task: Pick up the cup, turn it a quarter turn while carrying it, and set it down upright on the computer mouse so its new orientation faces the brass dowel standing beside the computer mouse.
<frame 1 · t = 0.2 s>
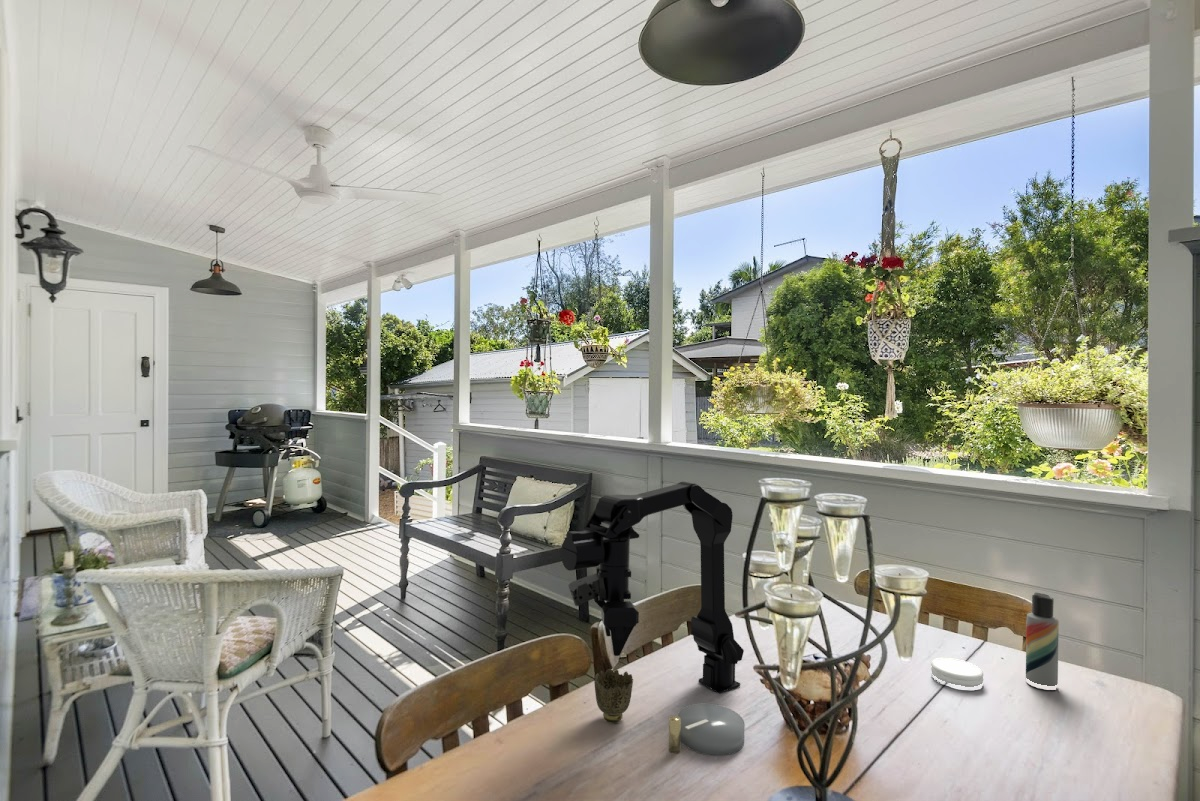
hand: (612, 645, 114), 14 cm above the table, tool pointing down, fingers open, 9 cm apart
coaster: (956, 682, 134), on the table
cup: (612, 720, 114), on the table
computer mouse: (710, 736, 109), on the table
lotion bottle: (1041, 686, 132), on the table
brass dowel: (674, 750, 104), on the table
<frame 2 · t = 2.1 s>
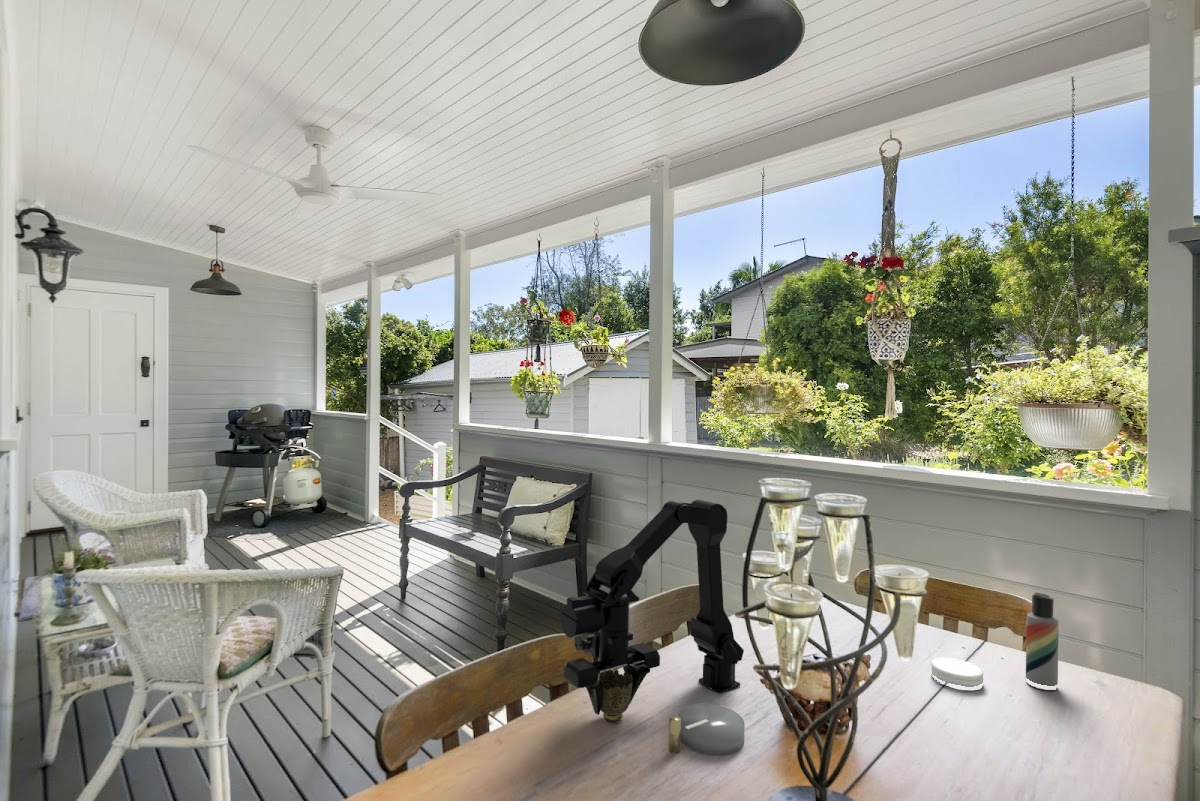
hand: (612, 708, 114), 2 cm above the table, tool pointing down, fingers closed on cup, 7 cm apart
cup: (612, 720, 114), on the table, touching gripper
everything else where it was.
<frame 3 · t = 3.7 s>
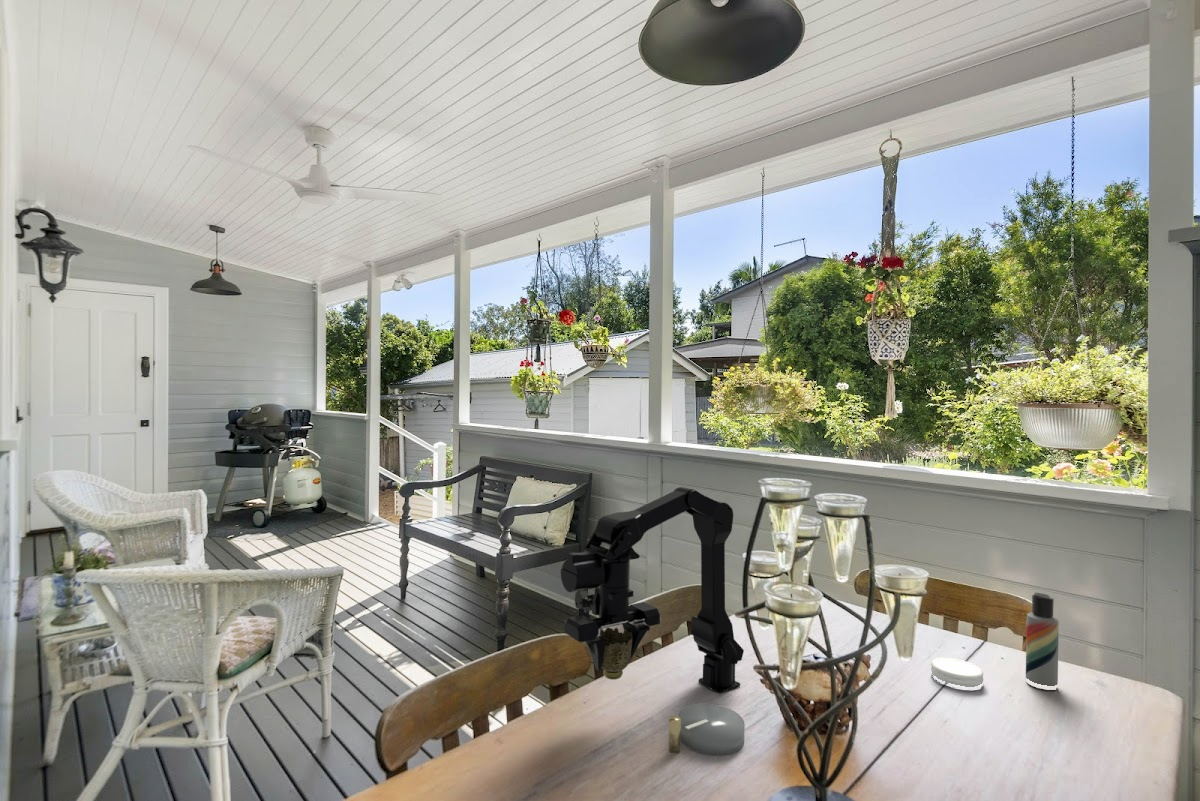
hand: (612, 665, 114), 10 cm above the table, tool pointing down, fingers closed on cup, 6 cm apart
cup: (613, 677, 114), point 8 cm above the table, touching gripper
everything else where it was.
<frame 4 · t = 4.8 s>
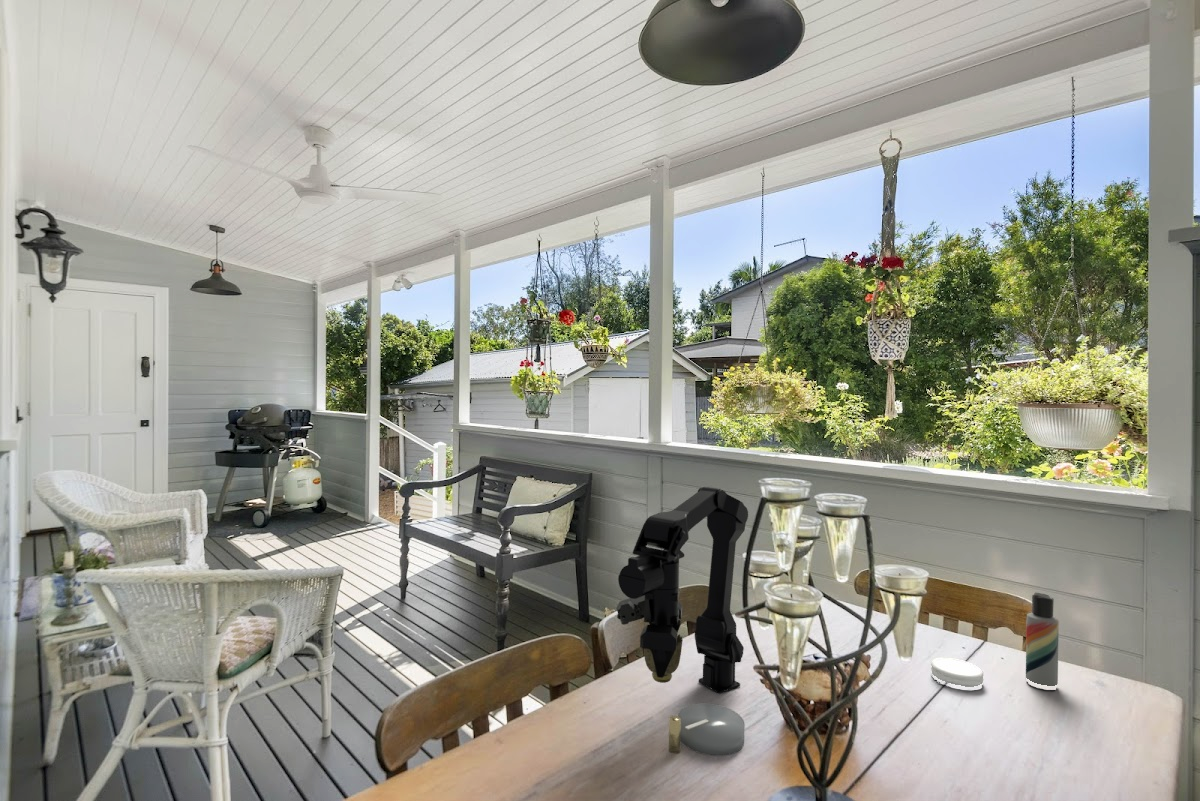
hand: (661, 669, 112), 11 cm above the table, tool pointing down, fingers closed on cup, 6 cm apart
cup: (661, 680, 112), point 9 cm above the table, touching gripper
everything else where it was.
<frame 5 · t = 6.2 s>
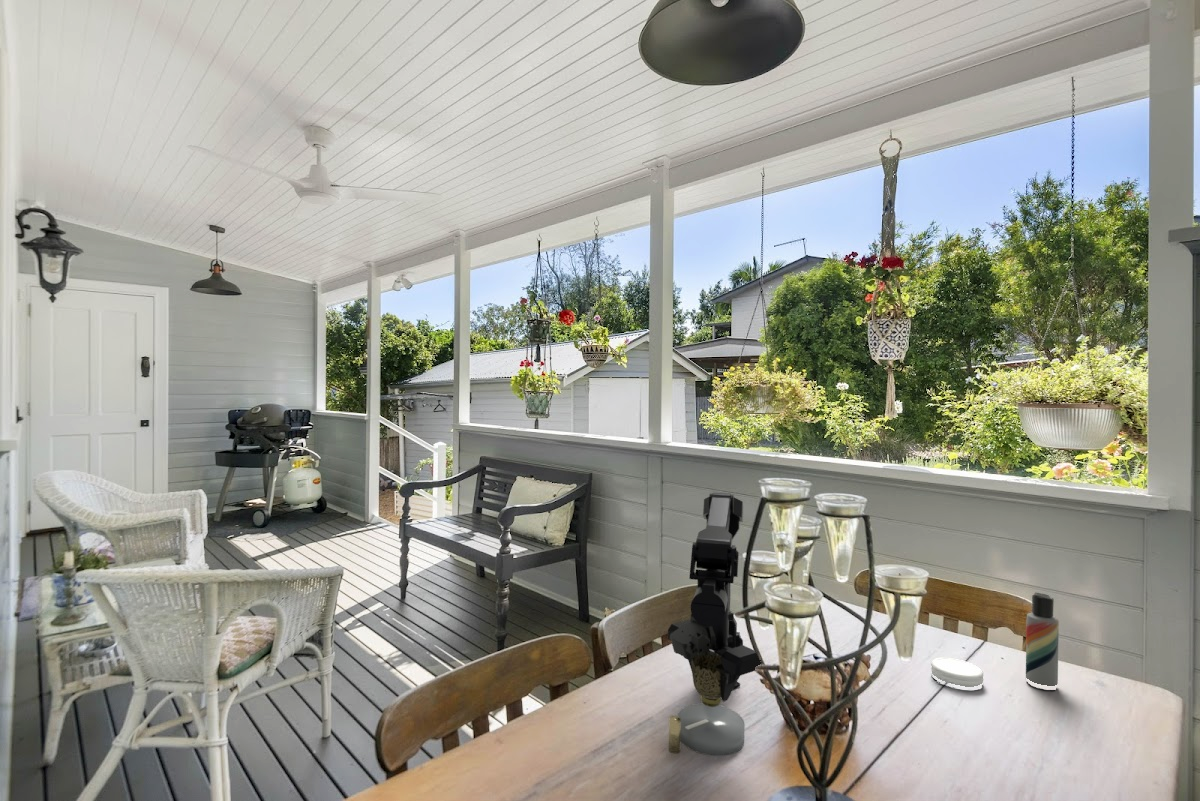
hand: (711, 692, 109), 8 cm above the table, tool pointing down, fingers closed on cup, 6 cm apart
cup: (710, 704, 109), point 6 cm above the table, touching gripper
everything else where it was.
when the fingers open (6 cm above the table, at t = 7.4 s): cup drops 1 cm, resting on computer mouse.
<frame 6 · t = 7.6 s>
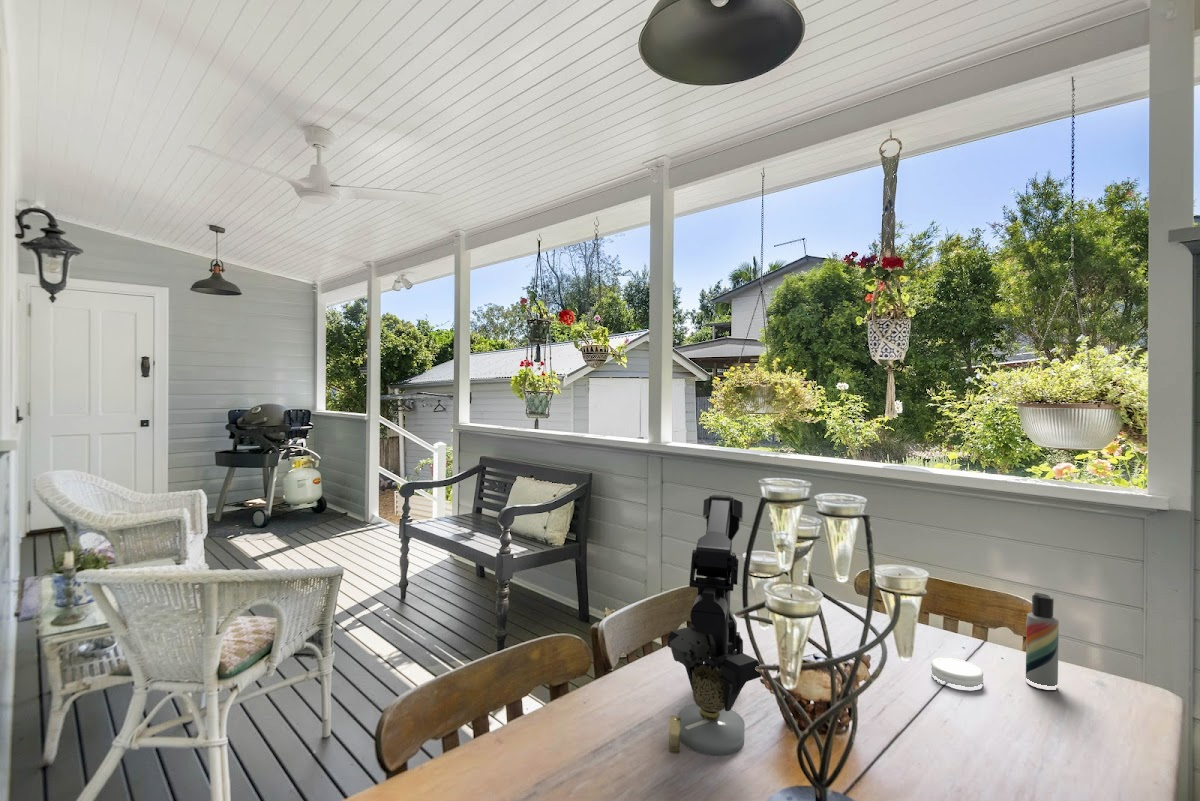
hand: (711, 700, 109), 6 cm above the table, tool pointing down, fingers open, 8 cm apart
cup: (709, 718, 110), point 3 cm above the table, touching gripper, computer mouse
everything else where it was.
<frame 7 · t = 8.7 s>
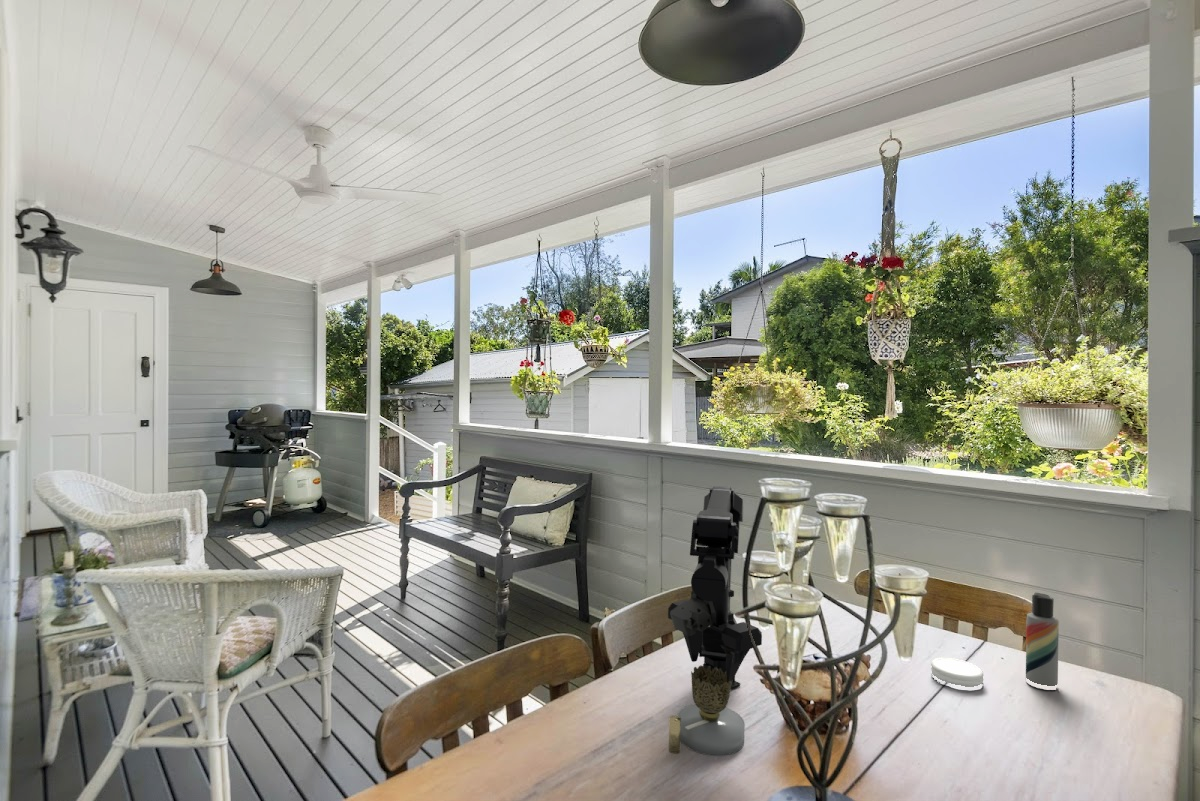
hand: (711, 670, 109), 12 cm above the table, tool pointing down, fingers open, 9 cm apart
cup: (709, 719, 110), point 3 cm above the table, touching computer mouse
everything else where it was.
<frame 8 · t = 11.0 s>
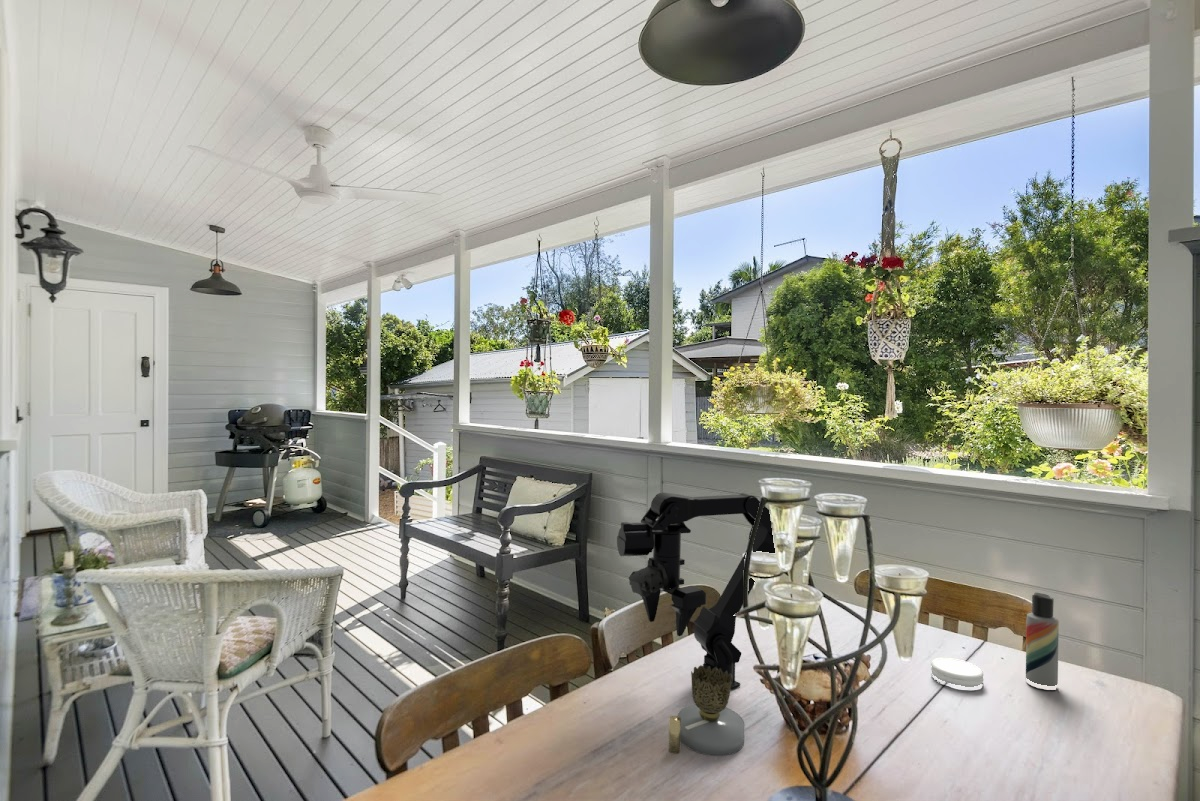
hand: (665, 628, 126), 13 cm above the table, tool pointing down, fingers open, 9 cm apart
nothing on the table moved.
at the end: cup 0.5 cm from the computer mouse (horizontally); cup point 2.9 cm above the table; cup tilted 3° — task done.
